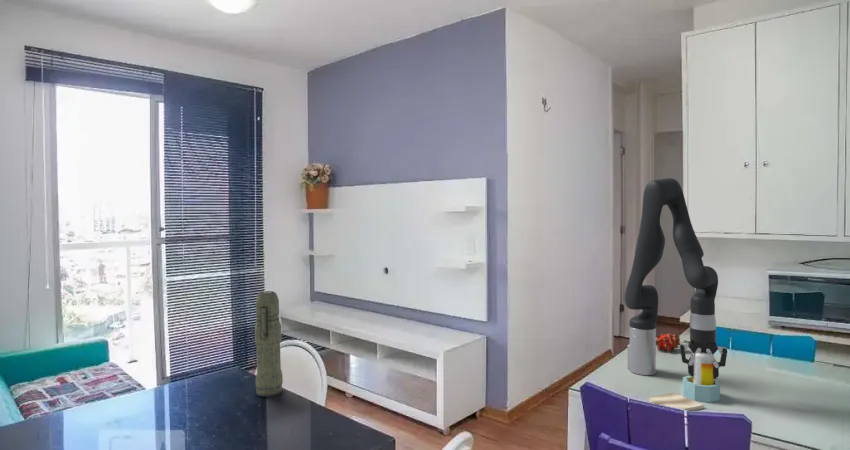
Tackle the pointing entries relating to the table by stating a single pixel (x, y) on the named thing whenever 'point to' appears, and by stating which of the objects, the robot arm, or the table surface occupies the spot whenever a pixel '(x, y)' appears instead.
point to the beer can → (703, 369)
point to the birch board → (676, 401)
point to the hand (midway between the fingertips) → (703, 376)
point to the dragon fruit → (667, 342)
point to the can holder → (701, 390)
